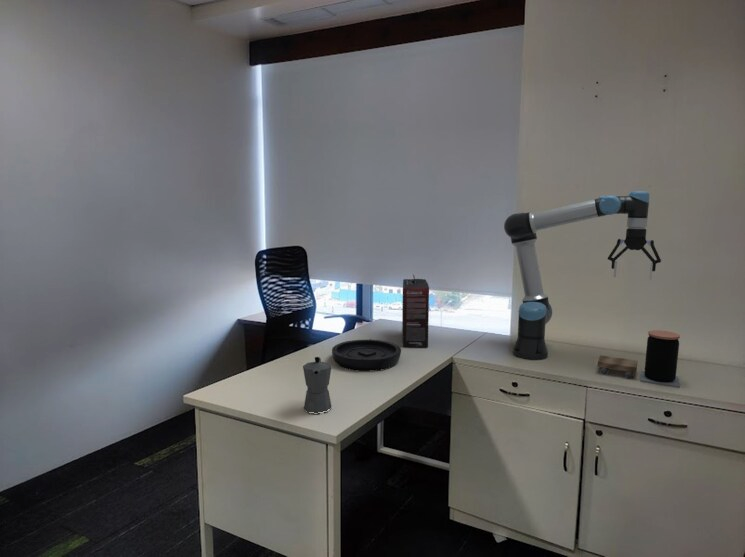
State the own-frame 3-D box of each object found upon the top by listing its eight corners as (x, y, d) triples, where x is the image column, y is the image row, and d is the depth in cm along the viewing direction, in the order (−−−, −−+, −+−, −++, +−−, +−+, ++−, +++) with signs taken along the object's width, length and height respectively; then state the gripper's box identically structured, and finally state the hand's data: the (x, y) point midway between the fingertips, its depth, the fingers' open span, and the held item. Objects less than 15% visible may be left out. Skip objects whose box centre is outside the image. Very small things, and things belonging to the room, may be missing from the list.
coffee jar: (681, 383, 188) (686, 337, 185) (653, 383, 187) (658, 337, 185) (664, 373, 198) (669, 330, 195) (638, 373, 198) (642, 330, 195)
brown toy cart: (596, 373, 199) (597, 361, 199) (599, 366, 208) (600, 355, 207) (635, 379, 193) (636, 367, 192) (636, 372, 201) (637, 360, 200)
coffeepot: (331, 417, 158) (330, 363, 155) (301, 417, 158) (300, 363, 155) (332, 398, 173) (332, 348, 170) (305, 398, 173) (304, 349, 170)
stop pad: (640, 381, 191) (640, 379, 191) (640, 372, 201) (641, 370, 201) (679, 387, 185) (679, 386, 184) (678, 377, 195) (678, 376, 195)
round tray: (365, 347, 236) (317, 361, 214) (365, 335, 235) (317, 348, 213) (414, 360, 215) (367, 378, 194) (415, 347, 214) (367, 363, 193)
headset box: (401, 334, 258) (402, 271, 253) (425, 334, 257) (426, 271, 252) (402, 347, 234) (403, 279, 229) (428, 348, 233) (430, 279, 228)
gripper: (670, 228, 206) (665, 278, 209) (604, 226, 218) (601, 274, 221) (671, 229, 199) (666, 281, 202) (603, 227, 211) (599, 276, 215)
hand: (632, 277), depth 212 cm, fingers open, 13 cm apart
